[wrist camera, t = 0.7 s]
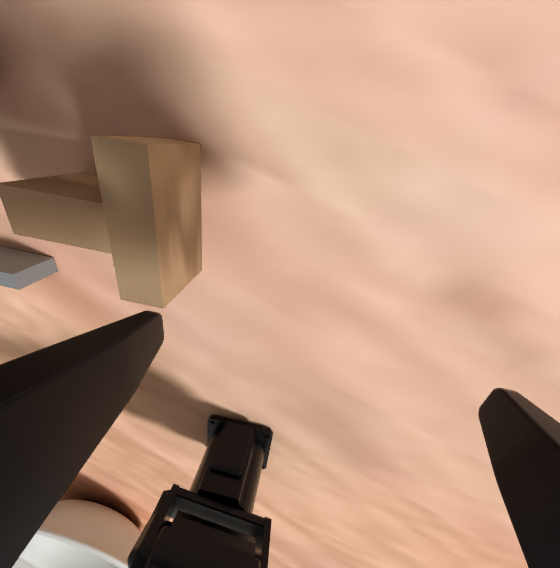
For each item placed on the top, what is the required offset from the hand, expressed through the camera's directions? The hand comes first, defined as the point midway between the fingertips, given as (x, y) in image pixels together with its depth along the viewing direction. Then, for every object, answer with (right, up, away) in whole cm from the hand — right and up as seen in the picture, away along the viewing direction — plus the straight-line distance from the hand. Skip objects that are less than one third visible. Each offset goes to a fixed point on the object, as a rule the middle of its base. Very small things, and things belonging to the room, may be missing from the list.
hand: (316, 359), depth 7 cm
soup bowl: (-30, -36, +37) cm, 59 cm away
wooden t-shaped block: (-10, +7, +10) cm, 16 cm away
